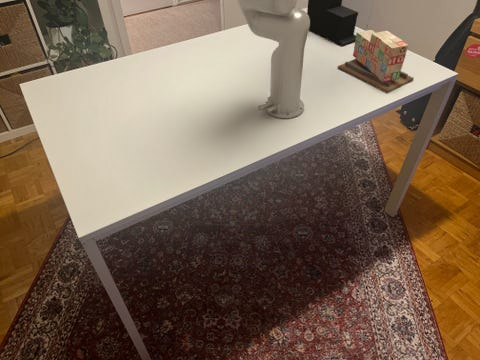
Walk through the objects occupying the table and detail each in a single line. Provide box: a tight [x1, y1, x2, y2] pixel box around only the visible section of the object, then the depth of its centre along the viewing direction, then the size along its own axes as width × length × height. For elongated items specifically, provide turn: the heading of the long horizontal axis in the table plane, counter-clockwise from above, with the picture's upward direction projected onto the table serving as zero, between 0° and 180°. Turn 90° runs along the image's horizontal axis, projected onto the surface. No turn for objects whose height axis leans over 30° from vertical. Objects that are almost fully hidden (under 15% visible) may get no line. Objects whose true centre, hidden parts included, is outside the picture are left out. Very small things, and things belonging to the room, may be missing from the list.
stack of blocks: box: [352, 29, 409, 82], centre depth 129 cm, size 21×6×12 cm, turn 16°
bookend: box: [306, 0, 359, 47], centre depth 154 cm, size 23×11×24 cm, turn 32°
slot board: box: [337, 58, 415, 94], centre depth 134 cm, size 14×23×2 cm, turn 35°
